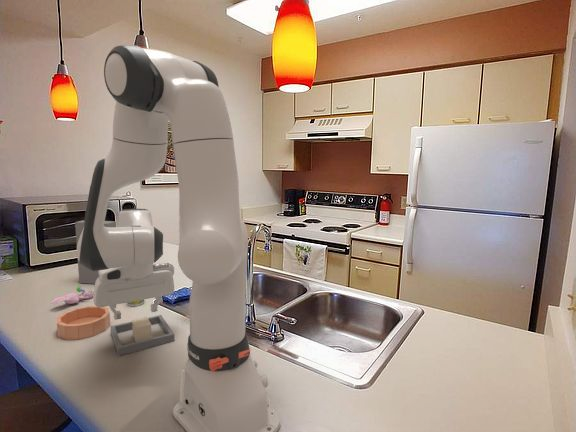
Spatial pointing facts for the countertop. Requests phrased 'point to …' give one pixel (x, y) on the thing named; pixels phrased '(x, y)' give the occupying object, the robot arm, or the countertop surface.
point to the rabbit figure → (74, 297)
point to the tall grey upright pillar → (84, 273)
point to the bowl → (83, 322)
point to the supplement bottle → (136, 303)
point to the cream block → (141, 329)
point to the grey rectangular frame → (144, 343)
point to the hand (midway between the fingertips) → (136, 314)
